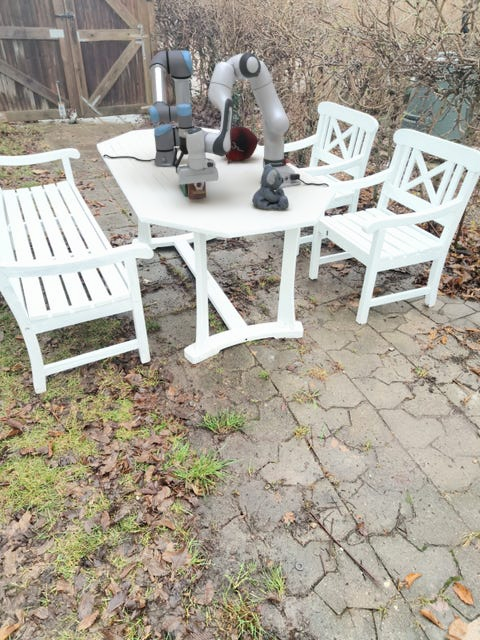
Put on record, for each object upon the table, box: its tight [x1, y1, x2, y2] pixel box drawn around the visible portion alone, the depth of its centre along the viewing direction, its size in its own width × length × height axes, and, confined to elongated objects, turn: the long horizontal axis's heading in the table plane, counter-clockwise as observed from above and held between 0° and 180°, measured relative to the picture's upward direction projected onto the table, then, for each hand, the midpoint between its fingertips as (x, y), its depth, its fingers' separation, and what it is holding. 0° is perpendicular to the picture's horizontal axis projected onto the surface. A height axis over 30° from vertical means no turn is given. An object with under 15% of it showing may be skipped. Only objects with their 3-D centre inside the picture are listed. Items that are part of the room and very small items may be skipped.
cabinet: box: [179, 183, 189, 197], centre depth 248 cm, size 19×10×10 cm, turn 15°
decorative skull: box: [224, 126, 259, 165], centre depth 296 cm, size 21×24×25 cm
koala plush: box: [251, 164, 290, 211], centre depth 224 cm, size 17×18×20 cm
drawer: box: [186, 182, 207, 200], centre depth 238 cm, size 24×9×8 cm, turn 15°
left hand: (189, 177), depth 252 cm, fingers closed on cabinet, 10 cm apart
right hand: (199, 190), depth 230 cm, fingers closed
